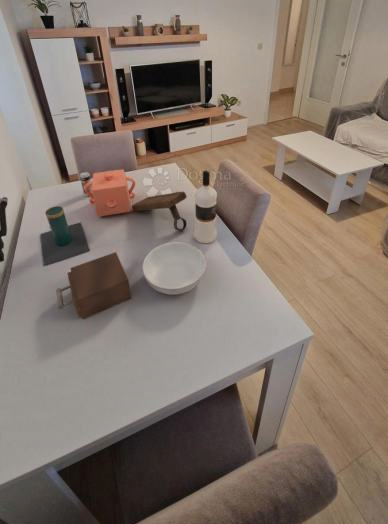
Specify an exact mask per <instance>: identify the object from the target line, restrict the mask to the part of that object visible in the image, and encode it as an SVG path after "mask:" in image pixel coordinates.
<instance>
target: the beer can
mask: <svg viewBox="0 0 388 524" xmlns="http://www.w3.org/2000/svg"><path fill="white" fill-rule="evenodd" d="M79 179H80V184H81V188H82V191H83V195H84V197H90V196H89V195H87V194H86V192H85V190H84V187H85V185H86V184H87V183H89V182H92V178H91V175H90V172H88V171H83V172H80V174H79ZM87 189H88V191H89V192H90V193H92V194H93V192H92V185H90V186H89V187H88V188H87Z"/></svg>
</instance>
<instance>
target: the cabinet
mask: <svg viewBox="0 0 388 524" xmlns="http://www.w3.org/2000/svg"><path fill="white" fill-rule="evenodd" d="M70 272H71V273H72V277H73V282H74V286H75V291H76V295H77V300H78V303H79V306H80V309H81V312H82V315H83V316H82V317H83V320H85V319H87V318H88V319H89V318H90V317H92V316H94V315H96V314H99V313H101V312H103V311H106V310H108V309H111V308H113V307H115V306H117V305H120V304H122V303H124V302H127V301H130V300H131V299H132V293H131V292H132V291H131V288H130V282H129V278H128V276H127V274H126V272H125V269H124V266H123V265H122V262H121V260H120V257H119V255H118V253H117V252H116V251H115V252H112V253H109V254H107V255H104V256H101V257H97V258H95V259H92V260H88V261H87V262H84V263H81V264H78V265H76V266H71V267H70Z"/></svg>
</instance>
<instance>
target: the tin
mask: <svg viewBox="0 0 388 524" xmlns="http://www.w3.org/2000/svg"><path fill="white" fill-rule="evenodd" d="M44 215H45V217H46V220H47V222H48V225H49V227H50V231H52V234H53V237H54V240H55V243H56V245H57V246H60V247H62V246H66V245H68V244H70V243H71V241H72V237H71V234H70V231H69V227H68V226H69V224H68V221H67V217H66V213H65V209H64V207H63V206H60V205H55V206H52V207H49V208H48V209H46V210H45V212H44Z"/></svg>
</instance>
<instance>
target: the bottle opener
mask: <svg viewBox="0 0 388 524" xmlns="http://www.w3.org/2000/svg"><path fill="white" fill-rule="evenodd" d="M187 198H188V197H187V193H186V192H185V191H177V192H170V193H165V194H158V195H152V196H148V197H146V198H144V199H142V200H139V201H137V202H136V203H134V204H132V205H131V208H132V211H133V212H140V211H151V210H160V209H161V210H162V209H169V211H170V213H171V214H170V215H171V216H172V218H173V228H174V229H175V231H177V232H182V231H184V230H186V228H187V226H188V224H187V223H188V222H187V220H186V219H185V218H184V217H181V215H180V212H179V210H178V208H177V204H179V203H180V202H182V201H184V200H186V199H187ZM179 220H181V221H182V223H183V224H182V227H181V229H180V228H179V226H178V221H179Z"/></svg>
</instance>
